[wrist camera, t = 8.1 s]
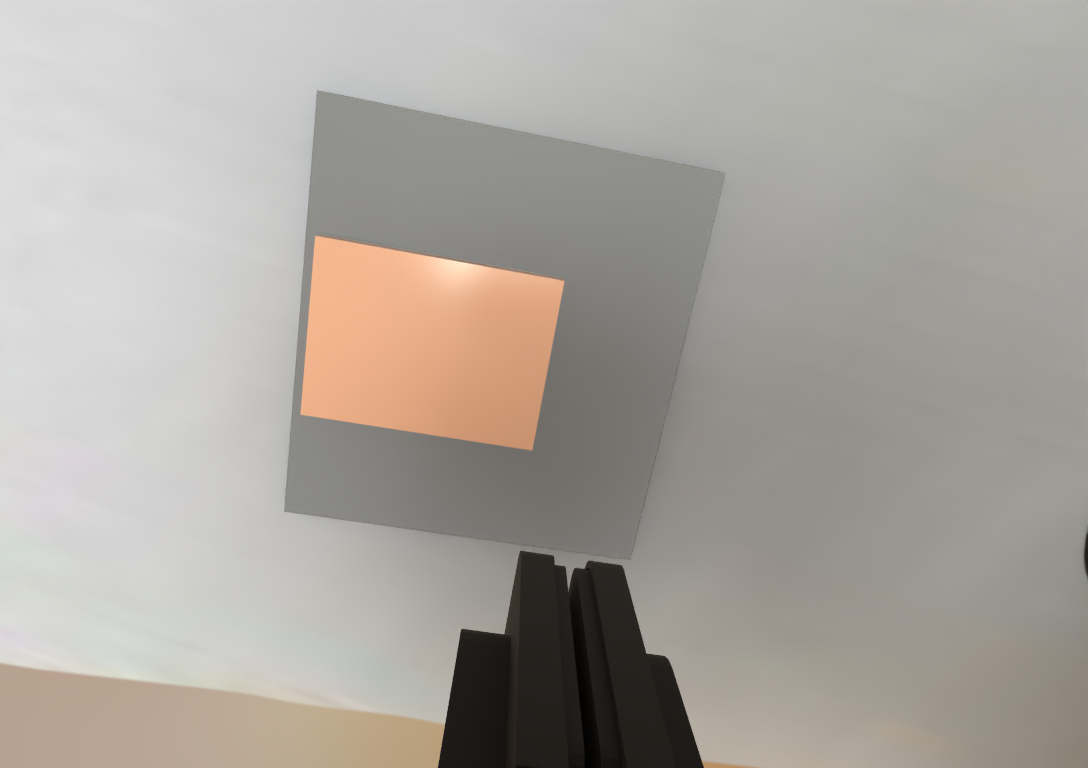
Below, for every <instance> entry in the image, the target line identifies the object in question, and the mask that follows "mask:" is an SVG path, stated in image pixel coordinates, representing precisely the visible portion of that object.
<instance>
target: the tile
mask: <svg viewBox="0 0 1088 768" xmlns="http://www.w3.org/2000/svg"><path fill="white" fill-rule="evenodd" d="M563 286H564V280H563V278H561V277H555V276H550V275H544V274H539V273H533V272H528V271H522V270H517V269H511V268H506V267H500V266H495V265H489V264H484V263H478V262H473V261H467V260H462V259H456V258H451V257H445V256H440V255H434V254H429V253H423V252H418V251H412V250H407V249H401V248H396V247H390V246H385V245H379V244H374V243H368V242H363V241H357V240H352V239H346V238H340V237H335V236H329V235H318V236H315V244H314V256H313V268H312V280H311V293H310V305H309V317H308V329H307V341H306V353H305V366H304V378H303V390H302V402H301V414H300V415H306V416H312V417H319V418H325V419H332V420H338V421H345V422H351V423H358V424H364V425H371V426H377V427H384V428H390V429H396V430H403V431H409V432H416V433H422V434H429V435H435V436H442V437H448V438H455V439H461V440H468V441H474V442H480V443H487V444H493V445H500V446H506V447H513V448H519V449H526V450H533V444H534V439H535V434H536V428H537V423H538V418H539V413H540V407H541V402H542V397H543V392H544V386H545V381H546V376H547V371H548V365H549V360H550V355H551V350H552V344H553V339H554V334H555V328H556V323H557V318H558V313H559V307H560V302H561V297H562V292H563Z"/></svg>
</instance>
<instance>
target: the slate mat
mask: <svg viewBox="0 0 1088 768" xmlns="http://www.w3.org/2000/svg"><path fill="white" fill-rule="evenodd" d="M725 174H726V173H723V172H718V171H713V170H708V169H703V168H698V167H693V166H688V165H683V164H679V163H674V162H669V161H664V160H659V159H654V158H649V157H644V156H639V155H634V154H629V153H624V152H619V151H614V150H609V149H604V148H599V147H595V146H590V145H585V144H580V143H575V142H570V141H565V140H560V139H555V138H550V137H545V136H540V135H535V134H530V133H525V132H520V131H515V130H510V129H506V128H501V127H496V126H491V125H486V124H481V123H476V122H471V121H466V120H461V119H456V118H451V117H446V116H441V115H436V114H431V113H426V112H422V111H417V110H412V109H407V108H402V107H397V106H392V105H387V104H382V103H377V102H372V101H367V100H362V99H357V98H352V97H347V96H342V95H338V94H333V93H328V92H323V91H318V90H317V100H316V113H315V126H314V139H313V151H312V164H311V177H310V190H309V202H308V215H307V228H306V241H305V253H304V266H303V279H302V292H301V305H300V317H299V330H298V343H297V356H296V368H295V381H294V394H293V407H292V419H291V432H290V445H289V458H288V470H287V483H286V496H285V509H284V512H291V513H298V514H306V515H313V516H320V517H327V518H334V519H341V520H348V521H355V522H363V523H370V524H377V525H384V526H391V527H398V528H405V529H412V530H419V531H427V532H434V533H441V534H448V535H455V536H462V537H469V538H476V539H484V540H491V541H498V542H505V543H512V544H519V545H526V546H533V547H541V548H548V549H555V550H562V551H569V552H576V553H583V554H590V555H598V556H605V557H612V558H619V559H626V560H630V558H631V554H632V550H633V546H634V542H635V538H636V534H637V530H638V526H639V522H640V518H641V514H642V510H643V506H644V501H645V497H646V493H647V489H648V485H649V481H650V477H651V473H652V469H653V465H654V461H655V457H656V453H657V449H658V445H659V441H660V437H661V433H662V429H663V425H664V421H665V417H666V413H667V408H668V404H669V400H670V396H671V392H672V388H673V384H674V380H675V376H676V372H677V368H678V364H679V360H680V356H681V352H682V348H683V344H684V340H685V336H686V332H687V328H688V324H689V319H690V315H691V311H692V307H693V303H694V299H695V295H696V291H697V287H698V283H699V279H700V275H701V271H702V267H703V263H704V259H705V255H706V251H707V247H708V243H709V239H710V235H711V231H712V226H713V222H714V218H715V214H716V210H717V206H718V202H719V198H720V194H721V190H722V186H723V182H724V178H725ZM318 235H329V236H335V237H340V238H346V239H352V240H357V241H363V242H368V243H374V244H379V245H385V246H390V247H396V248H401V249H407V250H412V251H418V252H423V253H429V254H434V255H440V256H445V257H451V258H456V259H462V260H467V261H473V262H478V263H484V264H489V265H495V266H500V267H506V268H511V269H517V270H522V271H528V272H533V273H539V274H544V275H550V276H555V277H561V278H563V280H564V286H563V292H562V297H561V302H560V307H559V313H558V318H557V323H556V328H555V334H554V339H553V344H552V350H551V355H550V360H549V365H548V371H547V376H546V381H545V386H544V392H543V397H542V402H541V407H540V413H539V418H538V423H537V428H536V434H535V439H534V444H533V450H526V449H519V448H513V447H506V446H500V445H493V444H487V443H480V442H474V441H468V440H461V439H455V438H448V437H442V436H435V435H429V434H422V433H416V432H409V431H403V430H396V429H390V428H384V427H377V426H371V425H364V424H358V423H351V422H345V421H338V420H332V419H325V418H319V417H312V416H306V415H300V414H301V402H302V390H303V378H304V366H305V353H306V341H307V329H308V317H309V305H310V293H311V280H312V268H313V256H314V244H315V236H318Z"/></svg>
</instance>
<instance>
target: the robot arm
mask: <svg viewBox="0 0 1088 768" xmlns="http://www.w3.org/2000/svg"><path fill="white" fill-rule="evenodd" d="M438 768H704V767H703V764H702V761H701V757H700V754H699V751H698V748H697V745H696V742H695V739H694V735H693V732H692V729H691V726H690V723H689V720H688V716H687V713H686V710H685V707H684V704H683V701H682V698H681V694H680V691H679V688H678V685H677V682H676V679H675V676H674V672H673V669H672V666H671V664H670V662H669V660H668V659H667V658H666V657H665V656H660V655H653V654H646V651H645V647H644V644H643V640H642V636H641V632H640V629H639V625H638V621H637V617H636V614H635V610H634V606H633V603H632V599H631V595H630V591H629V588H628V584H627V580H626V576H625V573H624V569H623V567H622V566H621V565H615V564H608V563H601V562H594V561H588V562H587V564H586V567H585V569H579V568H575V569H574V571H573V574H572V578H571V583H570V587H569V592H568V585H567V575H566V568H565V566H558V565H555V564H554V556H552V555H545V554H538V553H531V552H524V551H520V554H519V558H518V563H517V569H516V574H515V580H514V585H513V590H512V596H511V601H510V607H509V612H508V618H507V623H506V629H505V634H504V635H503V634H496V633H488V632H481V631H473V630H466V629H461V634H460V640H459V646H458V652H457V658H456V664H455V670H454V676H453V682H452V687H451V693H450V699H449V705H448V711H447V717H446V723H445V730H444V735H443V741H442V747H441V753H440V760H439V765H438Z"/></svg>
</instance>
